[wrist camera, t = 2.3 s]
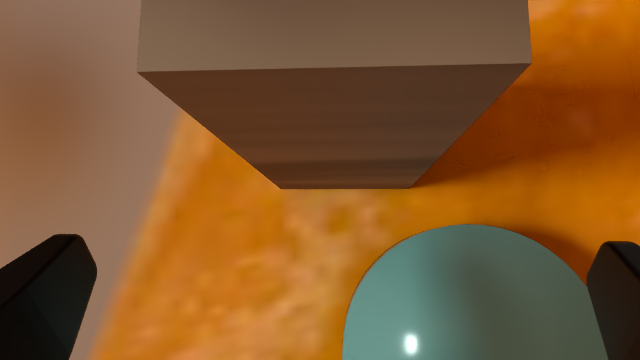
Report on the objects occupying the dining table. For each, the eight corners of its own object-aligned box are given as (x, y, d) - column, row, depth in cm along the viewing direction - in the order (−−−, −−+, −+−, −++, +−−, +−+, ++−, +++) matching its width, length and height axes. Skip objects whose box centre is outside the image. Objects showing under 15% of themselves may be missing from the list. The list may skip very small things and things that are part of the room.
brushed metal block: (409, 188, 19) (531, 63, 6) (280, 188, 19) (136, 71, 6) (406, 82, 19) (512, -234, 7) (282, 85, 20) (155, -210, 7)
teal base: (625, 388, 17) (671, 411, 15) (422, 512, 17) (434, 557, 14) (490, 186, 19) (511, 177, 16) (302, 299, 18) (294, 307, 16)
